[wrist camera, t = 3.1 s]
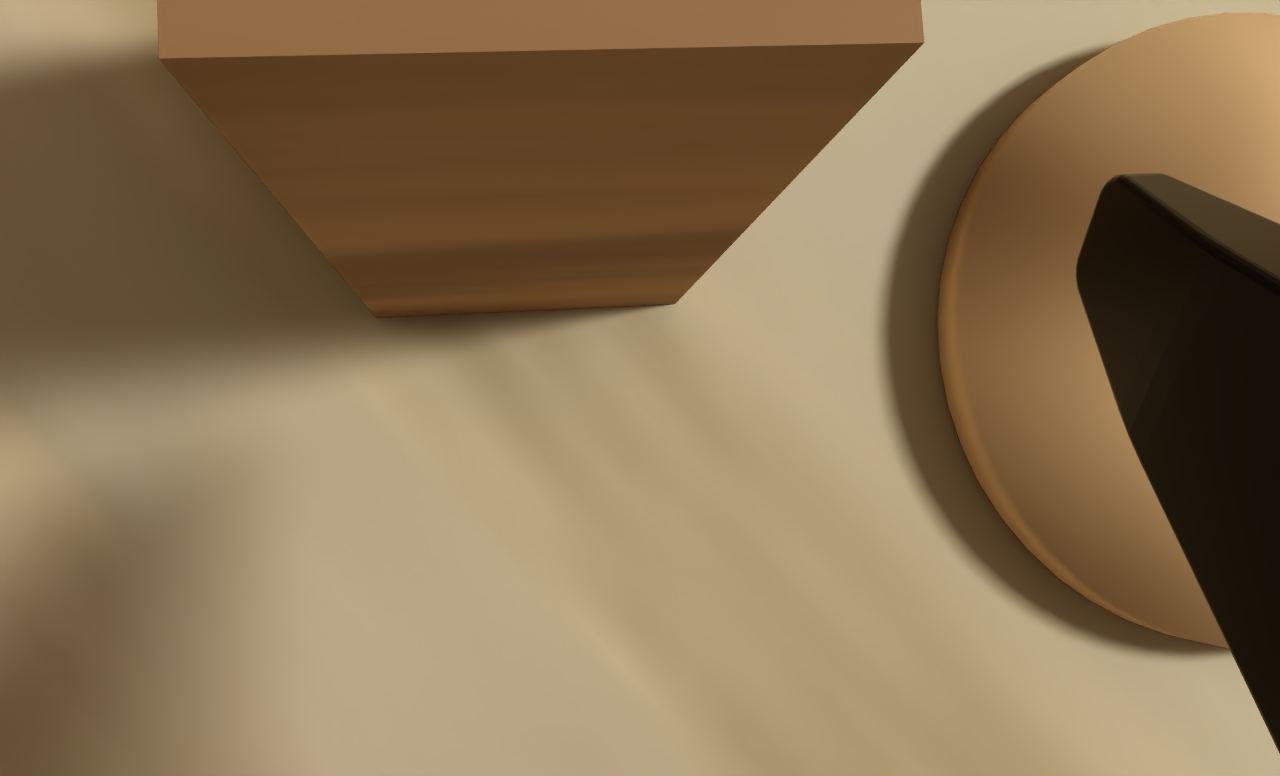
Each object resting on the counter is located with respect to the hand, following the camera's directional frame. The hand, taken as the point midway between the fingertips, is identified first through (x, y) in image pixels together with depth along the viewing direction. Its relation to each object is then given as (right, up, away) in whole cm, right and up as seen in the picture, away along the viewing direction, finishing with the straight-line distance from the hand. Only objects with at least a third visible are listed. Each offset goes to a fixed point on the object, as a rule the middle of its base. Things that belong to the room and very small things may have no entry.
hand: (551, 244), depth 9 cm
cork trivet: (+11, 0, +12) cm, 16 cm away
